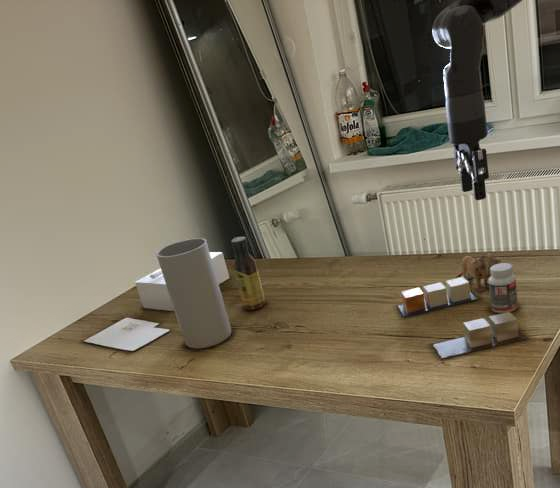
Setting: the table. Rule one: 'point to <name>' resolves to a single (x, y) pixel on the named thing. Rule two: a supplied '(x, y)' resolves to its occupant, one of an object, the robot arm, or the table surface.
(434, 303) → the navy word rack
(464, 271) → the lion figurine
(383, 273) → the table surface
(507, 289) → the pill bottle
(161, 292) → the tissue box
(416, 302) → the orange cube
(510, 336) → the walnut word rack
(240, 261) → the sauce bottle
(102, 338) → the paper
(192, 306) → the cylinder vase
